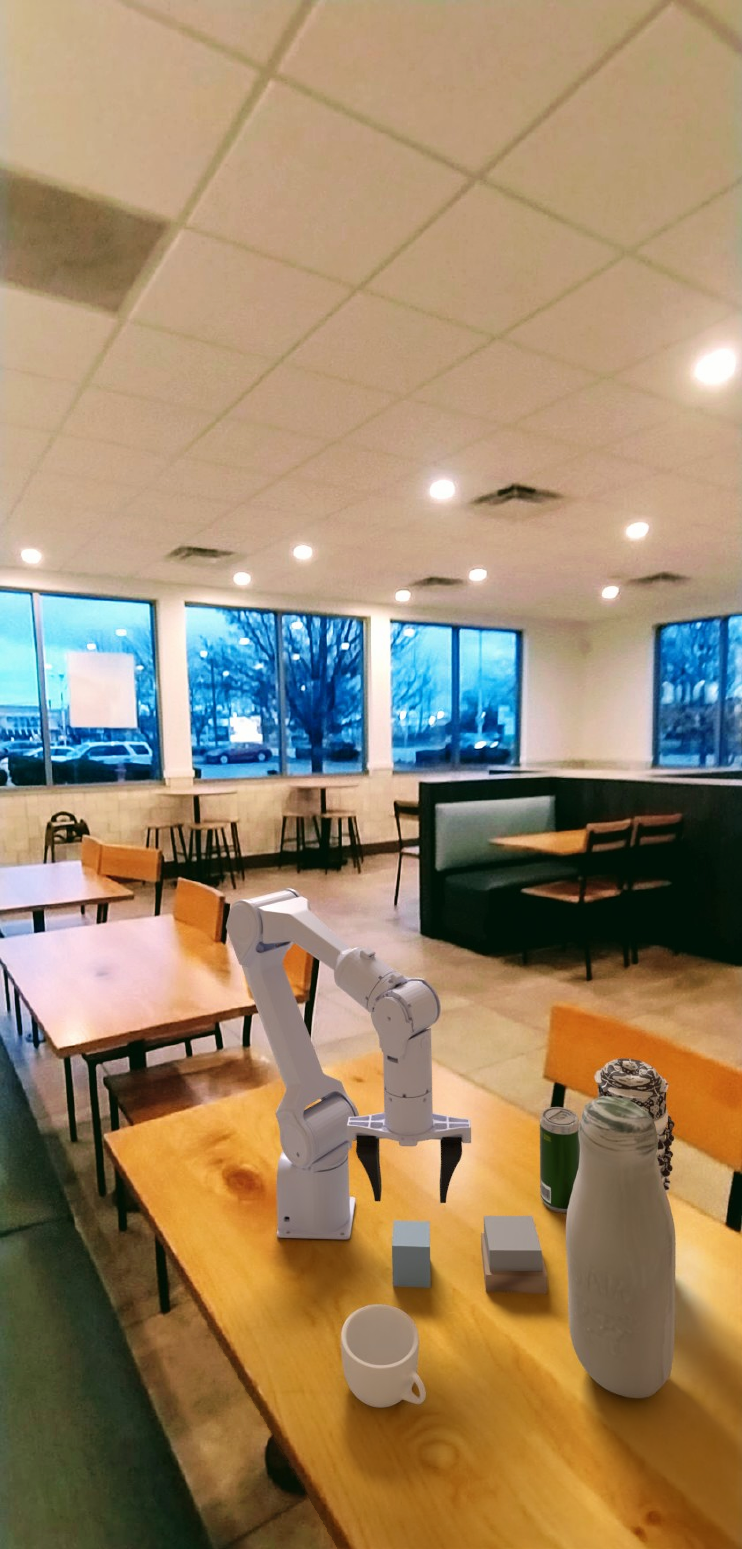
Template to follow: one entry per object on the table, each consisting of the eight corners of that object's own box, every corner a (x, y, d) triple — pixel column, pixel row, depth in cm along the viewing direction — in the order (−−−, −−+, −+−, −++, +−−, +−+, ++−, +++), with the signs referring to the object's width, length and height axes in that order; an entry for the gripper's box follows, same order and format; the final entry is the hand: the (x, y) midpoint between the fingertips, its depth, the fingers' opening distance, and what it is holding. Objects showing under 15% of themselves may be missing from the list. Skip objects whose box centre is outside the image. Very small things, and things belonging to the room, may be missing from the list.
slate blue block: (392, 1286, 86) (391, 1245, 85) (394, 1259, 90) (393, 1220, 90) (430, 1287, 85) (429, 1246, 85) (430, 1260, 90) (429, 1221, 89)
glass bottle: (682, 1360, 75) (683, 1093, 73) (662, 1443, 66) (662, 1144, 64) (585, 1319, 80) (583, 1071, 78) (554, 1392, 71) (552, 1114, 70)
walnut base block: (485, 1295, 84) (485, 1274, 84) (481, 1252, 91) (481, 1233, 91) (547, 1297, 84) (547, 1277, 84) (538, 1254, 91) (538, 1234, 91)
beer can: (561, 1219, 96) (561, 1131, 96) (531, 1198, 101) (531, 1114, 100) (589, 1204, 99) (588, 1118, 98) (559, 1184, 104) (558, 1102, 103)
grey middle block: (489, 1270, 85) (489, 1250, 85) (484, 1234, 91) (483, 1215, 91) (541, 1270, 85) (541, 1250, 84) (532, 1234, 91) (532, 1215, 90)
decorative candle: (676, 1312, 81) (676, 1092, 79) (588, 1292, 84) (587, 1080, 82) (672, 1256, 89) (673, 1056, 88) (593, 1239, 92) (592, 1046, 91)
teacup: (326, 1383, 73) (324, 1332, 73) (383, 1339, 78) (381, 1291, 78) (394, 1456, 66) (393, 1400, 65) (452, 1403, 71) (451, 1350, 70)
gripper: (342, 1102, 83) (346, 1217, 84) (472, 1104, 82) (474, 1221, 82) (349, 1072, 90) (352, 1179, 91) (468, 1074, 89) (470, 1182, 89)
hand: (410, 1196), depth 87 cm, fingers open, 7 cm apart
